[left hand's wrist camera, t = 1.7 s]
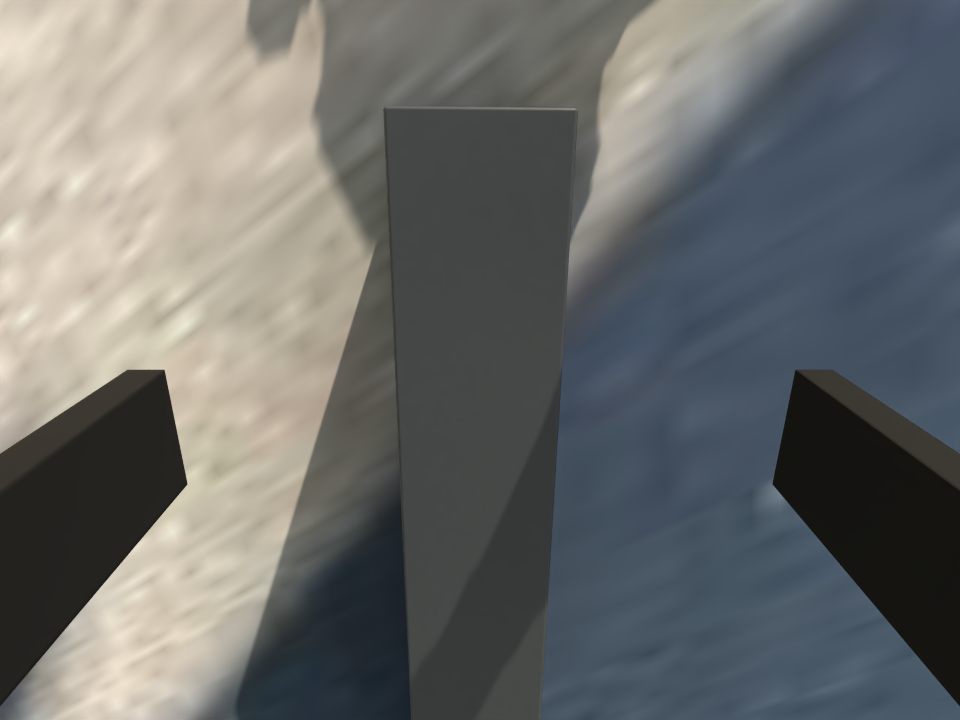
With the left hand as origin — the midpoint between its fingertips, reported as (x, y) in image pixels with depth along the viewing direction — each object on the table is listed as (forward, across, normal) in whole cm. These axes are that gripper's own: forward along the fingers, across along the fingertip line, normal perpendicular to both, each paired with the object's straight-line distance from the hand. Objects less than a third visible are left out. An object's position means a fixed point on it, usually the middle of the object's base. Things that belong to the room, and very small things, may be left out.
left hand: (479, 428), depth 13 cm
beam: (+12, 0, -34) cm, 37 cm away
